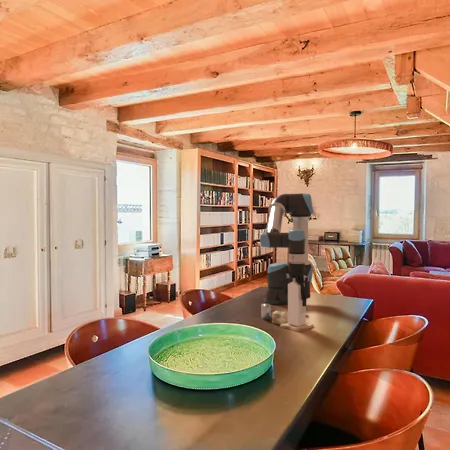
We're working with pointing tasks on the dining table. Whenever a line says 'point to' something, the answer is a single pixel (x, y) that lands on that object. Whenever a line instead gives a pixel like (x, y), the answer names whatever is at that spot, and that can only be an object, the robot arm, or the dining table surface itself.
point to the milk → (295, 304)
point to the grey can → (266, 311)
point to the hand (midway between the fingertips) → (296, 311)
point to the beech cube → (278, 317)
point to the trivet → (297, 328)
